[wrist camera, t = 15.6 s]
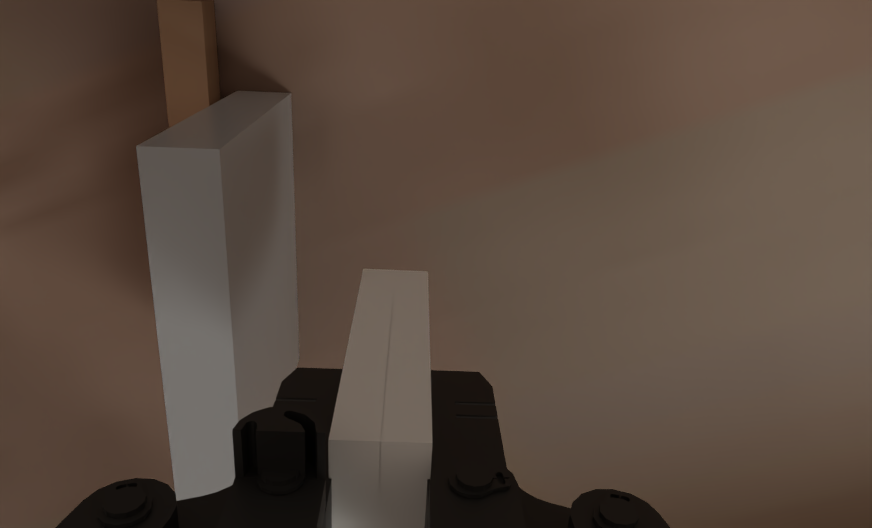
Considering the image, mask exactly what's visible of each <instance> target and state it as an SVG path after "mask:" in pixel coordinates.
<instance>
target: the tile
mask: <svg viewBox="0 0 872 528" xmlns="http://www.w3.org/2000/svg"><path fill="white" fill-rule="evenodd" d="M136 151H137V160H138V169H139V177H140V186H141V195H142V204H143V213H144V222H145V231H146V239H147V248H148V257H149V266H150V275H151V284H152V292H153V301H154V310H155V319H156V328H157V337H158V346H159V354H160V363H161V372H162V381H163V390H164V399H165V408H166V416H167V425H168V434H169V443H170V452H171V461H172V470H173V478H174V487H175V493H176V501H179V500H184V499H189V498H194V497H199V496H204V495H208V494H211V493H215V492H218V491H220V490H223V489H225V488H227V487H229V486H231V485H233V482H234V479H235V466H234V451H233V435H232V430H233V428H234V427H235V426H236V424H237V423H238V422H239V420H241V419H242V418H244V417H246V416H247V415H249V414H250V413H252V412H255V411H258V410H261V409H265V408H268V407H273V405H274V402H275V401H276V396H277V393H278V391H279V388H280V385H281V382H282V381H283V380H284V379H285V378H286V377H287V376H288V375H290V374H291V373H292V372H293V371H294V370H295V369H296V367H297V364H298V361H299V358H300V357H299V325H298V293H297V261H296V230H295V198H294V166H293V134H292V102H291V93H283V92H258V91H236V92H234V93H232V94H230V95H228V96H227V97H225V98H223V99H221V100H219V101H218V102H216V103H214V104H212V105H210V106H208V107H207V108H205V109H203V110H201V111H199V112H197V113H196V114H194V115H192V116H190V117H188V118H186V119H185V120H183V121H181V122H179V123H177V124H176V125H174V126H172V127H170V128H168V129H166V130H165V131H163V132H161V133H159V134H157V135H155V136H154V137H152V138H150V139H148V140H146V141H145V142H143V143H141V144H139V145H137V146H136Z"/></svg>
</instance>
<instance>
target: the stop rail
mask: <svg viewBox="0 0 872 528" xmlns="http://www.w3.org/2000/svg"><path fill="white" fill-rule="evenodd" d="M157 10H158V20H159V31H160V41H161V52H162V62H163V73H164V83H165V94H166V104H167V115H168V125H169V128H170V127H172V126H174V125H176V124H177V123H179V122H181V121H183V120H185V119H186V118H188V117H190V116H192V115H194V114H196V113H197V112H199V111H201V110H203V109H205V108H207V107H208V106H210V105H212V104H214V103H216V102H218V101H219V100H221V98H220V83H219V68H218V53H217V38H216V24H215V9H214V1H211V0H157Z"/></svg>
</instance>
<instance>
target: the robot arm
mask: <svg viewBox="0 0 872 528" xmlns="http://www.w3.org/2000/svg"><path fill="white" fill-rule="evenodd" d="M232 435H233V451H234V466H235V479H234V482H233V485H231V486H229V487H227V488H225V489H223V490H220V491H218V492H215V493H211V494H208V495H204V496H199V497H194V498H189V499H184V500H179V501H176V493H175V492H174V491H173V490H172V489H171V488H170V487H169V485H167V484H165V483H162V482H160V481H157V480H155V479H141V478H135V479H129V480H124V481H119V482H115V483H113V484H110V485H108V486H106V487H103V488H101V489H98V490H97V491H96V492H94V493H93V494H92V495H90V496H89V497H87V498H86V499H85V500H83V501H82V502H81V503H80V504H79V505H78V506H77V507H76V508H75V509H74V510H73V511H72V512H71V513H70V514H69V515H68V516H67V517H66V518H65V519H64V520H63V521H62V522H61V523H60V524H59V525H58V526H57V527H56V528H670V527H669V526H668V524H667V523H666V522H665V521H664V519H663V518H662V517H661V515H660V514H659V513H658V512H657V511H656V510H655V509H654V508H652V507H651V506H650V505H649V504H648V503H647V502H645V501H643V500H641V499H640V498H638V497H636V496H634V495H632V494H629V493H625V492H621V491H617V490H613V489H596V490H592V491H589V492H586V493H583V494H581V495H580V496H579V497H578V498H577V499H576V500H575V501H574V502H573V503H572V507H571V508H567V507H563V506H559V505H555V504H551V503H548V502H545V501H542V500H540V499H537V498H535V497H533V496H531V495H529V494H528V493H526V492H524V491H523V490H522V489H521V488H519V487H518V484H517V482H516V480H515V478H514V476H513V474H512V473H511V472H510V471H509V470H508V469H507V467H506V462H505V456H504V450H503V445H502V439H501V433H500V428H499V422H498V419H497V411H496V406H495V400H494V394H493V388H492V386H491V385H490V384H489V382H488V381H487V380H486V379H485V378H484V377H483V376H482V375H481V374H480V373H479V372H463V371H434V370H431V366H430V327H429V287H428V271H410V270H385V269H363V272H362V277H361V282H360V287H359V292H358V296H357V301H356V306H355V311H354V316H353V321H352V326H351V331H350V336H349V341H348V346H347V351H346V356H345V360H344V365H343V369H322V368H296V369H295V370H294V371H293V372H292V373H291V374H290V375H288V376H287V377H286V378H285V379H284V380H283V381H282V382H281V385H280V388H279V391H278V393H277V396H276V401H275V402H274V405H273V407H268V408H265V409H261V410H258V411H255V412H252V413H250V414H249V415H247V416H246V417H244V418H242V419H241V420H239V422H238V423H237V424H236V426H235V427H234V428H233V430H232Z"/></svg>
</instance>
